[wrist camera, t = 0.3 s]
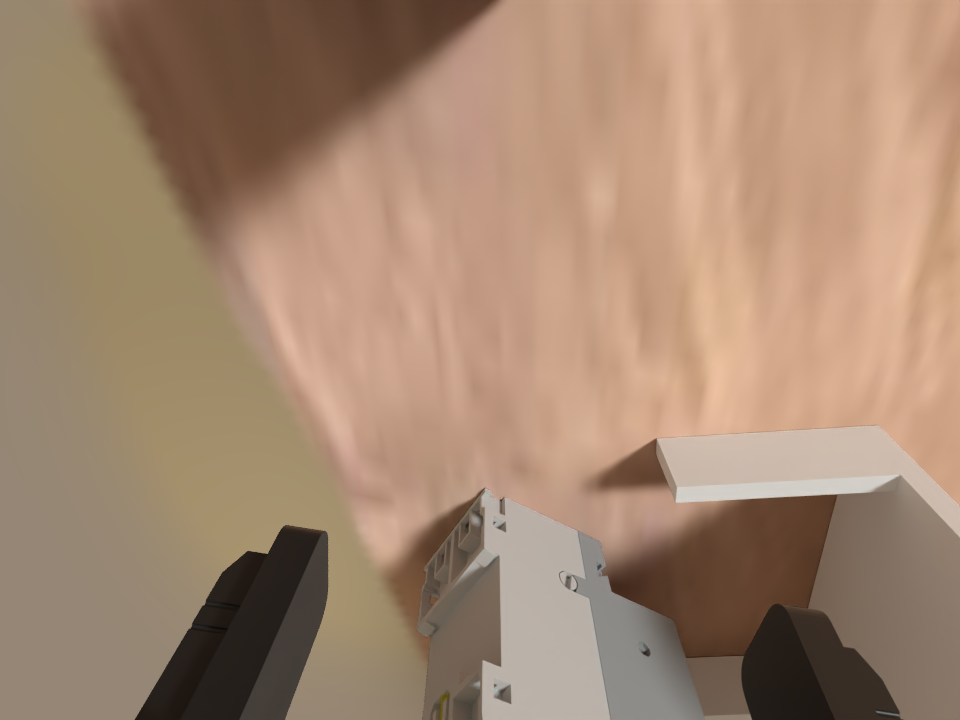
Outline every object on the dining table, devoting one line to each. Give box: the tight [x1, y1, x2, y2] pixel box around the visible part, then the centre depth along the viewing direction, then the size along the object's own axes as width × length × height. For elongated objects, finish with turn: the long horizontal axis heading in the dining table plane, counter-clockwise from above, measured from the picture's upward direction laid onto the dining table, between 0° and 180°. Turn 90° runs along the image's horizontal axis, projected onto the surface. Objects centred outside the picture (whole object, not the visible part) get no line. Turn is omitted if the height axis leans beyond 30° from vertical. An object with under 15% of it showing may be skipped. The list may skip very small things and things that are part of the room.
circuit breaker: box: [417, 488, 705, 720], centre depth 31 cm, size 8×14×15 cm, turn 60°
